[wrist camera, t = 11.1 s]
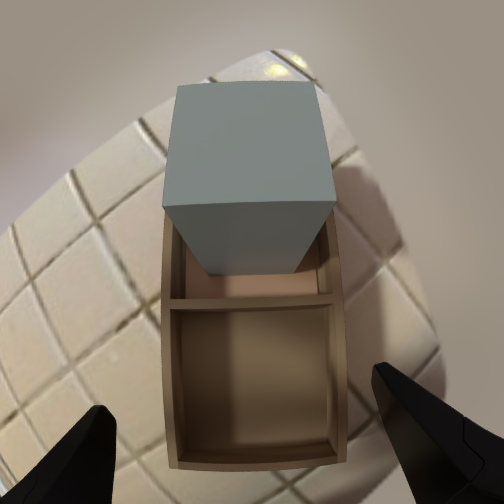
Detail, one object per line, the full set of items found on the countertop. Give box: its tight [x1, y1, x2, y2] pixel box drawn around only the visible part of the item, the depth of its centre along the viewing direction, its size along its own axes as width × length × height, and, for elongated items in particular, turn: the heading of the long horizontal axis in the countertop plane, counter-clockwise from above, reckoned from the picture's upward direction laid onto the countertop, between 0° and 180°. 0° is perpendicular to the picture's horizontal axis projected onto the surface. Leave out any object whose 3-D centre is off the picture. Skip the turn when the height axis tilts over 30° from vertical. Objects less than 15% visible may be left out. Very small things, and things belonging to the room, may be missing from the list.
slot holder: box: [161, 208, 347, 472], centre depth 17 cm, size 18×9×3 cm, turn 2°
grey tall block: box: [162, 81, 337, 276], centre depth 14 cm, size 5×5×10 cm
